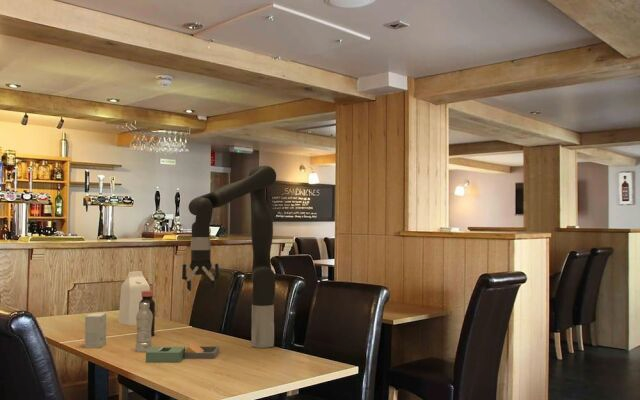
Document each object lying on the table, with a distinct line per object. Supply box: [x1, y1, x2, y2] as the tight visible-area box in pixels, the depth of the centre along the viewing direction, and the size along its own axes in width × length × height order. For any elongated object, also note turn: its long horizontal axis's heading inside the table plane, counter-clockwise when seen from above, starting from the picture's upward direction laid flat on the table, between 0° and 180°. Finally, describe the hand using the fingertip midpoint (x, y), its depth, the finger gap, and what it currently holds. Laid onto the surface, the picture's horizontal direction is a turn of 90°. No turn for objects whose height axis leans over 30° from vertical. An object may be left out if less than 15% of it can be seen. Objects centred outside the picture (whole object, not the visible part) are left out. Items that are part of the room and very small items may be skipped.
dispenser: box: [145, 345, 186, 364], centre depth 222 cm, size 12×10×5 cm
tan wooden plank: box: [185, 341, 204, 353], centre depth 229 cm, size 2×6×9 cm
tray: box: [183, 345, 220, 360], centre depth 229 cm, size 11×12×4 cm
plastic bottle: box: [135, 302, 154, 353], centre depth 237 cm, size 6×7×20 cm
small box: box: [84, 312, 107, 349], centre depth 251 cm, size 8×6×13 cm
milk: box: [118, 270, 151, 326], centre depth 308 cm, size 12×12×26 cm
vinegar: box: [139, 290, 156, 337], centre depth 275 cm, size 7×7×20 cm
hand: (201, 290), depth 237 cm, fingers open, 8 cm apart
